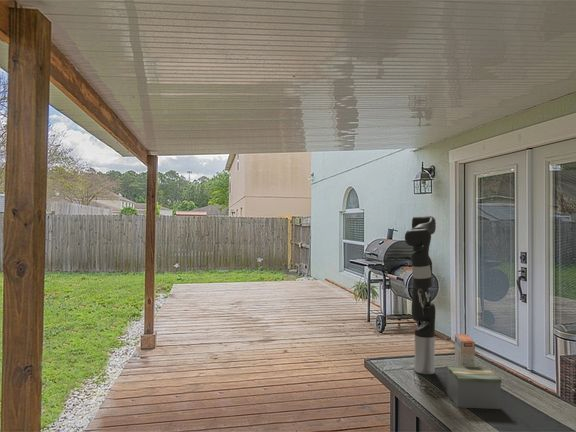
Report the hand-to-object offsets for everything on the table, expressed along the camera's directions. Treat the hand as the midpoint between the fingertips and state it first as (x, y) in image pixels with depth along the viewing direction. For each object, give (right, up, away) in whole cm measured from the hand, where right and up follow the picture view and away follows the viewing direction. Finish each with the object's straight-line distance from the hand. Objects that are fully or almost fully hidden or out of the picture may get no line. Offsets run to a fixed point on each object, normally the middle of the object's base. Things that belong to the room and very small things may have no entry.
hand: (426, 315), depth 180 cm
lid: (+15, -21, -11) cm, 28 cm away
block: (+15, -31, -11) cm, 36 cm away
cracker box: (+19, -32, +6) cm, 38 cm away
